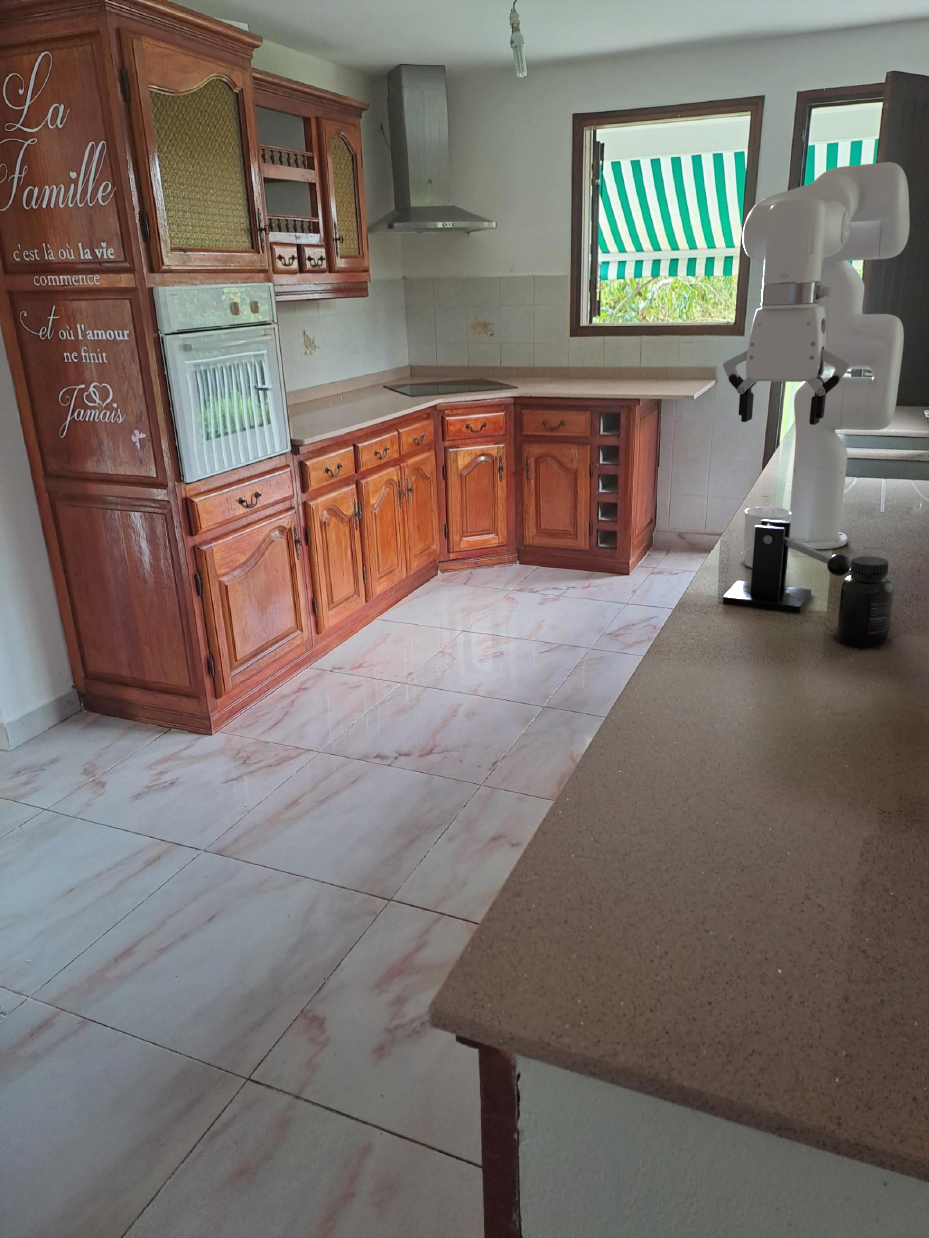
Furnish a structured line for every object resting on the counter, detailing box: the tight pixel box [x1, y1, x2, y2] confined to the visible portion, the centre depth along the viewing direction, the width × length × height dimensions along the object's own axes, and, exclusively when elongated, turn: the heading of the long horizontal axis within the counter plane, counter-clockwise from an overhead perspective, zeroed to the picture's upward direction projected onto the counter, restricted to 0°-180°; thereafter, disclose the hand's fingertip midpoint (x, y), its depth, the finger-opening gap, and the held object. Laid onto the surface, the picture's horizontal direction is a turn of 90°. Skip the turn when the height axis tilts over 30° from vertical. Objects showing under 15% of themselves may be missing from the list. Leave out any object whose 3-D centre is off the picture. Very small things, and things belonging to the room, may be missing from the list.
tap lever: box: [767, 524, 851, 577], centre depth 138 cm, size 14×3×3 cm, turn 59°
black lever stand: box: [722, 519, 812, 615], centre depth 142 cm, size 12×9×13 cm
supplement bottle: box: [836, 555, 895, 649], centre depth 125 cm, size 7×7×12 cm
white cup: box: [743, 506, 791, 569], centre depth 160 cm, size 8×8×10 cm
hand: (779, 422), depth 128 cm, fingers open, 9 cm apart
